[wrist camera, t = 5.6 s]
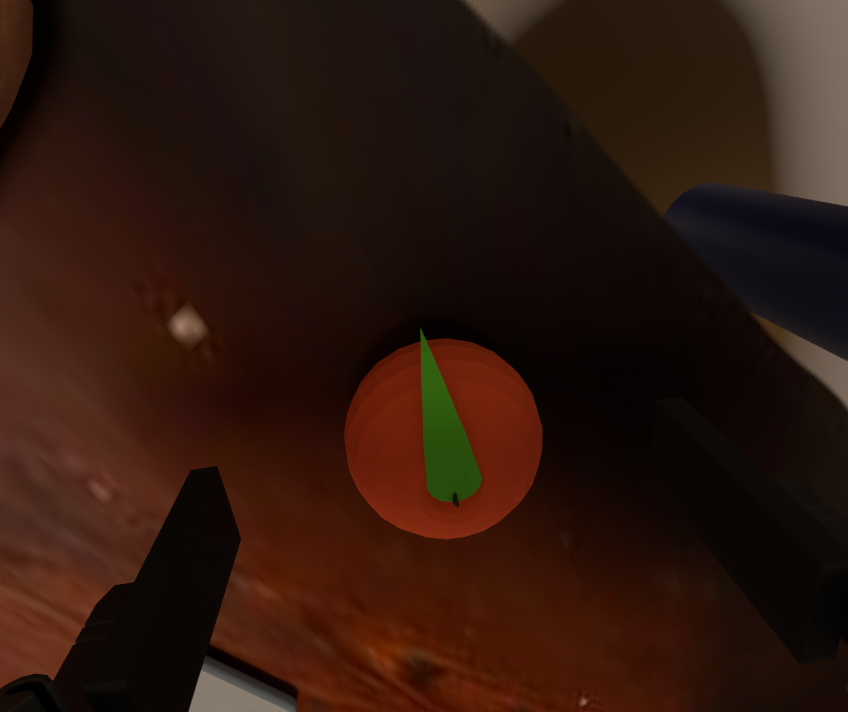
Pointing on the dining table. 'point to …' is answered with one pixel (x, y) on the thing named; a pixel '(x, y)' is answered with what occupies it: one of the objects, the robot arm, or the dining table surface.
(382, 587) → the dining table surface
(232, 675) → the smartphone
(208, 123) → the dining table surface
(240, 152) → the dining table surface
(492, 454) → the clementine
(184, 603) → the robot arm
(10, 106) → the bread
